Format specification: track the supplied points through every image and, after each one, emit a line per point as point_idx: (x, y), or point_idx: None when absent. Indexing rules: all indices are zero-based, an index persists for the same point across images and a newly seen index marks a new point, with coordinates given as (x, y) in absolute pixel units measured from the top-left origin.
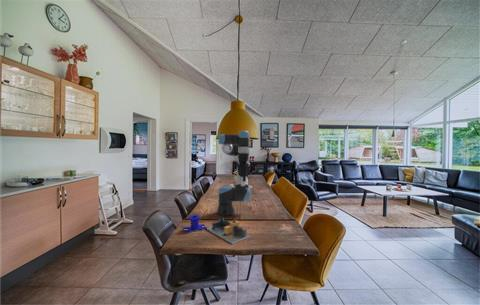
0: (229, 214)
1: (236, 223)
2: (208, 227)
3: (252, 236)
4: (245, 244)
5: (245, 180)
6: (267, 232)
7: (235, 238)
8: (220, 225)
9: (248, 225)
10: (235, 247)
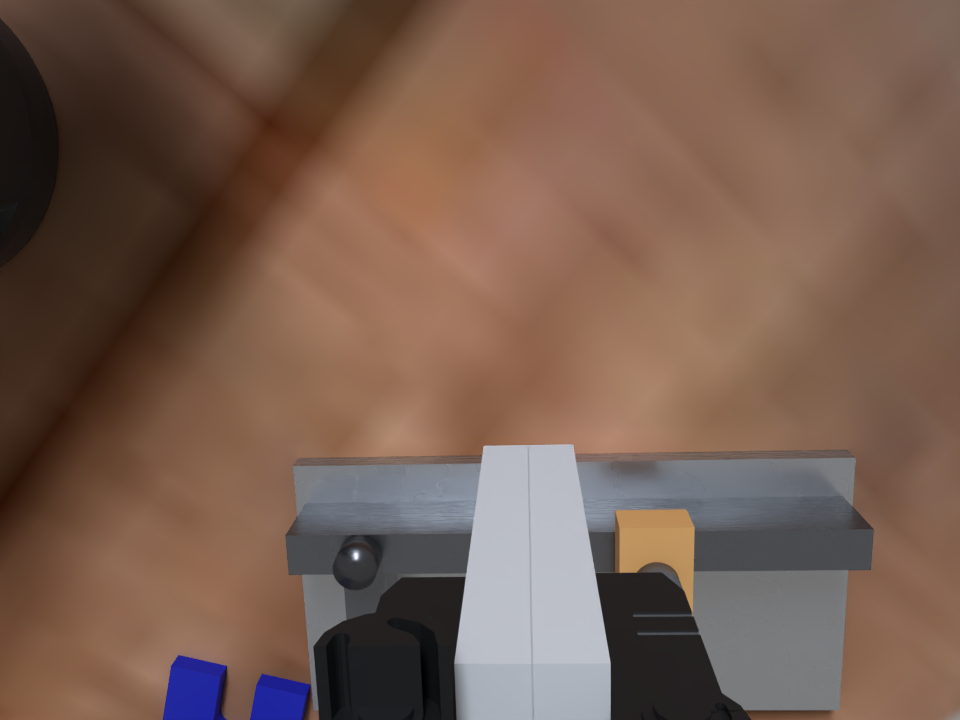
0: (44, 163)
1: (691, 569)
2: None
3: (858, 401)
4: (940, 599)
5: (687, 606)
6: (924, 151)
7: (796, 632)
8: (393, 574)
9: (557, 188)
10: (909, 715)
